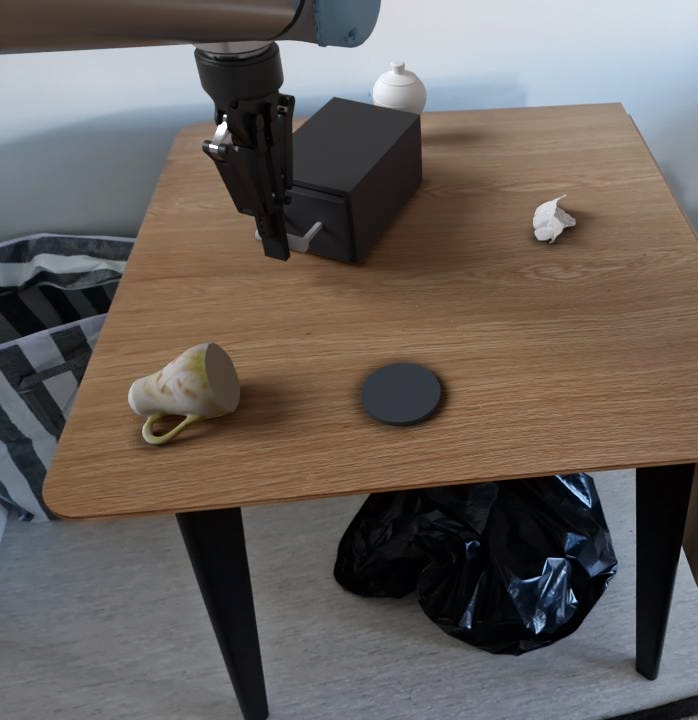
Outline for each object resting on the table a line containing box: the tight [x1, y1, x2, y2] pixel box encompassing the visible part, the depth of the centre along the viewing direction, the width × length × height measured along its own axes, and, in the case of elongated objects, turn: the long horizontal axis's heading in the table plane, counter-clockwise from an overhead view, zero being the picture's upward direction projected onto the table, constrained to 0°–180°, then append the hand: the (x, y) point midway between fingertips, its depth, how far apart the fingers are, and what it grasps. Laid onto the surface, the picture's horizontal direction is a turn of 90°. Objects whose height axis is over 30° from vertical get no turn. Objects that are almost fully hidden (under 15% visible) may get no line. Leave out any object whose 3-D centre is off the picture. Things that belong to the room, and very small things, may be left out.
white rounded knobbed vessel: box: [372, 59, 428, 116], centre depth 104 cm, size 8×8×12 cm
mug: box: [127, 342, 241, 445], centre depth 69 cm, size 8×10×10 cm
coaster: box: [360, 362, 442, 427], centre depth 73 cm, size 8×8×1 cm
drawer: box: [254, 184, 353, 263], centre depth 89 cm, size 24×11×8 cm, turn 160°
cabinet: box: [282, 96, 424, 264], centre depth 92 cm, size 20×13×10 cm, turn 160°
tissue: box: [532, 194, 577, 244], centre depth 93 cm, size 6×8×4 cm
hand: (278, 256), depth 82 cm, fingers closed
